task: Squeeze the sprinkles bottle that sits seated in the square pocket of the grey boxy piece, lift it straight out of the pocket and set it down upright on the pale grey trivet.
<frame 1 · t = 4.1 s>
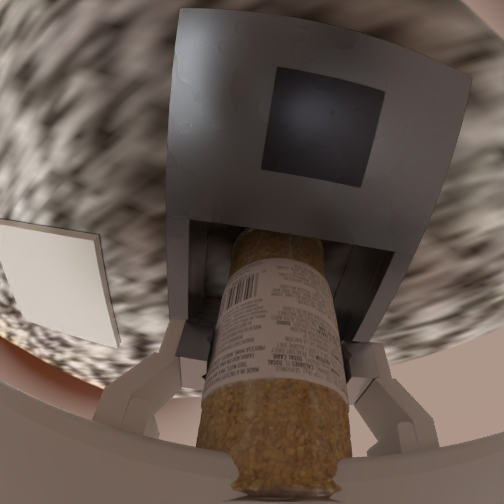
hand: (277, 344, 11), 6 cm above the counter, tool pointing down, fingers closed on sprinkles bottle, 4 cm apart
sprinkles bottle: (278, 251, 15), resting in grey boxy piece, touching gripper
trivet: (53, 283, 18), on the counter
grey boxy piece: (286, 218, 14), on the counter
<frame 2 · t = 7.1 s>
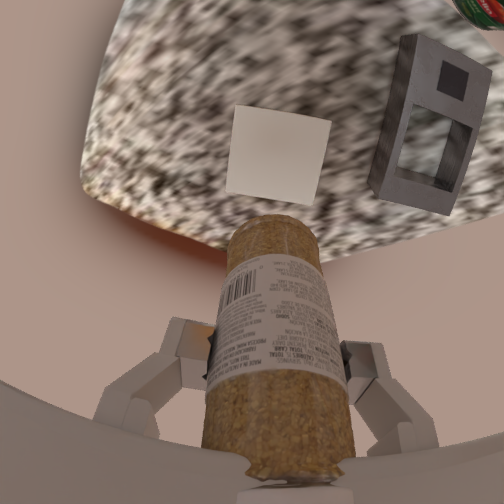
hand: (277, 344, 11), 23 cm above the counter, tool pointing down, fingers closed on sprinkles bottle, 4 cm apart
sprinkles bottle: (273, 248, 16), point 17 cm above the counter, touching gripper
trivet: (276, 155, 30), on the counter
grey boxy piece: (423, 121, 26), on the counter
when the fingers open (7 cm above the counter, at t = 10.2 s): sprinkles bottle stays where it is, resting on trivet.
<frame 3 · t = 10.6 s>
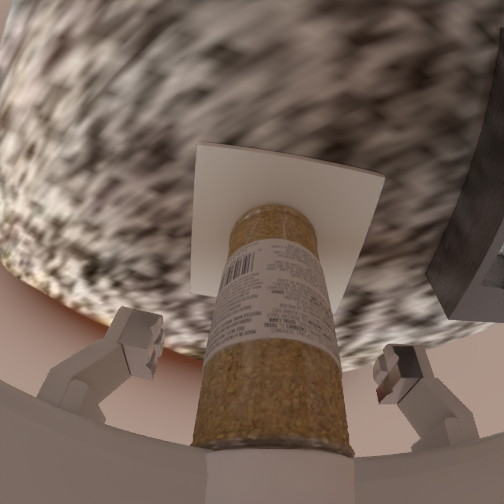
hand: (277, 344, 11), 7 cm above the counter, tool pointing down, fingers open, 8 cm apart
sprinkles bottle: (273, 238, 16), resting on trivet
trivet: (277, 235, 17), on the counter
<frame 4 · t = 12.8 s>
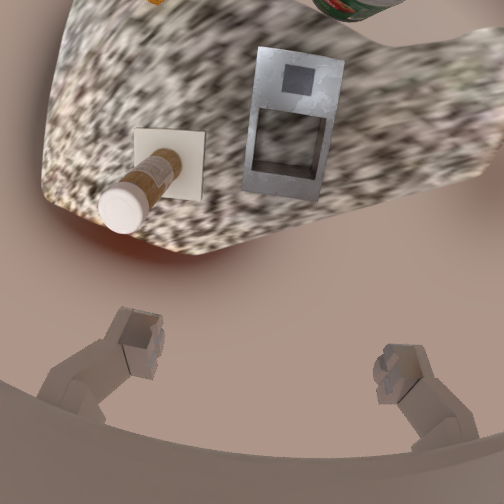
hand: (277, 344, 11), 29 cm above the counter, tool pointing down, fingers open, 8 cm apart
sprinkles bottle: (165, 163, 37), resting on trivet
trivet: (168, 163, 37), on the counter
grey boxy piece: (289, 120, 33), on the counter
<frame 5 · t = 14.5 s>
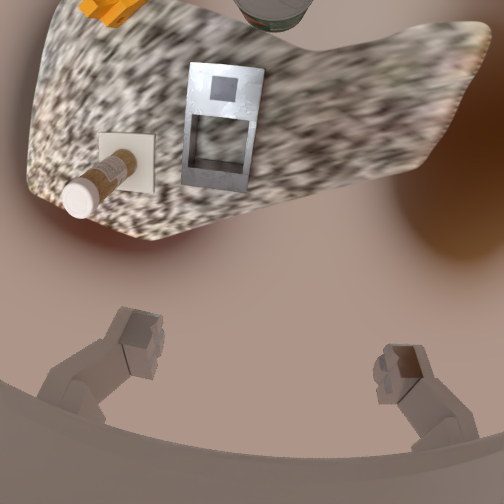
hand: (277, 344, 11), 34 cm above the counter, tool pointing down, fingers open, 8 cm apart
sprinkles bottle: (124, 162, 42), resting on trivet
canned tomato: (273, 5, 29), on the counter
trivet: (126, 161, 42), on the counter
grey boxy piece: (224, 122, 39), on the counter
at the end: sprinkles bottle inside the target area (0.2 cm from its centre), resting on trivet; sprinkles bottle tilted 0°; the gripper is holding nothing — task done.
